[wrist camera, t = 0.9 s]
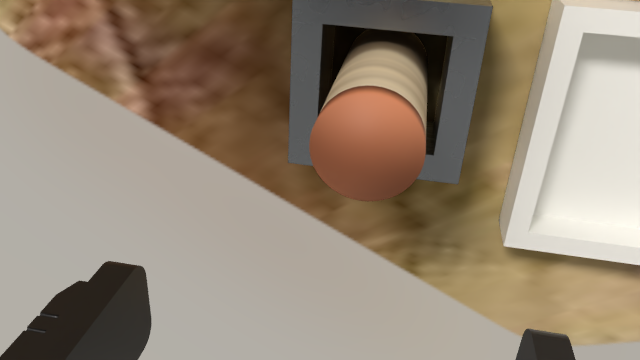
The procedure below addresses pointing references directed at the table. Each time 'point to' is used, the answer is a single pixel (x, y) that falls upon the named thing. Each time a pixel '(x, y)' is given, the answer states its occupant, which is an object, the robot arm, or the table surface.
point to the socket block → (397, 15)
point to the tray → (580, 138)
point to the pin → (374, 118)
